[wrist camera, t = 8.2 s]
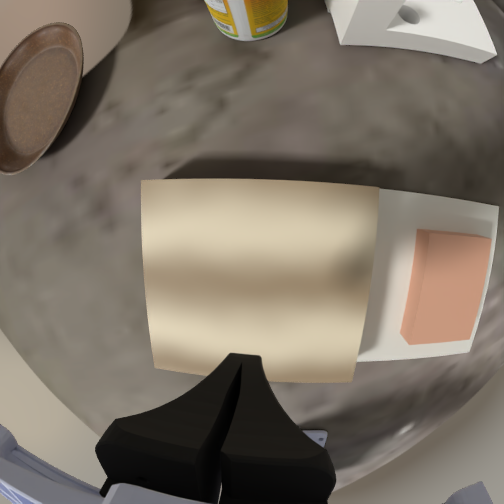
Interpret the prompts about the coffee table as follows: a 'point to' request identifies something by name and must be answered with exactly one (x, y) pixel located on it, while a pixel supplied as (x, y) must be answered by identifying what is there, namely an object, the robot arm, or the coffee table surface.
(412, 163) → the coffee table surface
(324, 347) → the beige flat block
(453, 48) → the bracket
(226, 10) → the supplement bottle
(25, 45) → the saucer
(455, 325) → the tile
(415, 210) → the mat
